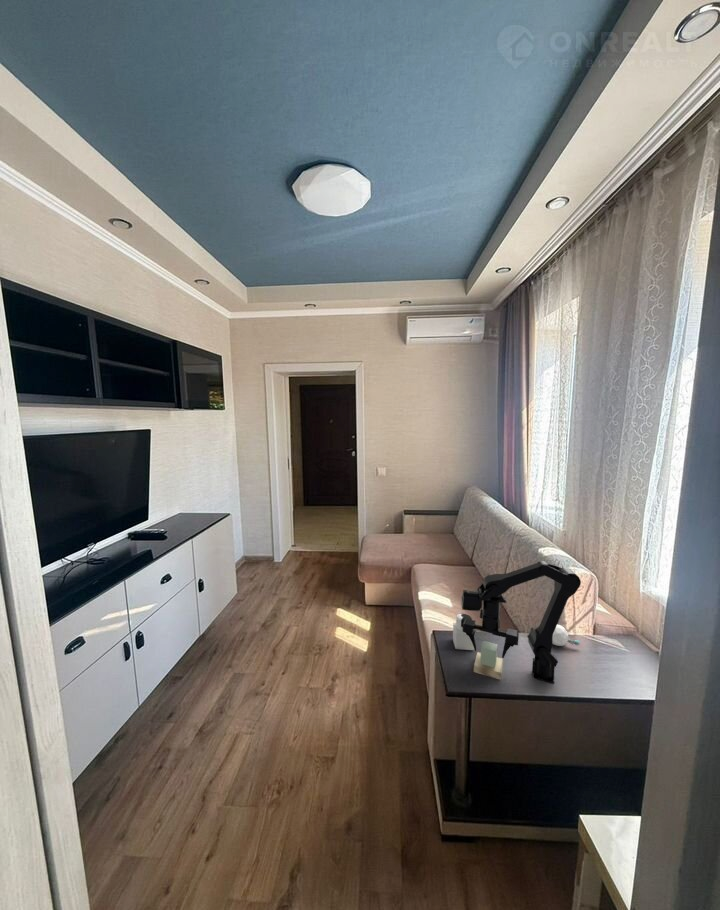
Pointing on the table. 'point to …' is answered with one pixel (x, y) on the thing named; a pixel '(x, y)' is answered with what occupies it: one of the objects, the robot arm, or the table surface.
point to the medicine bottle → (461, 634)
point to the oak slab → (488, 667)
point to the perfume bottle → (562, 637)
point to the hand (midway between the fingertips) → (489, 654)
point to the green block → (489, 654)
